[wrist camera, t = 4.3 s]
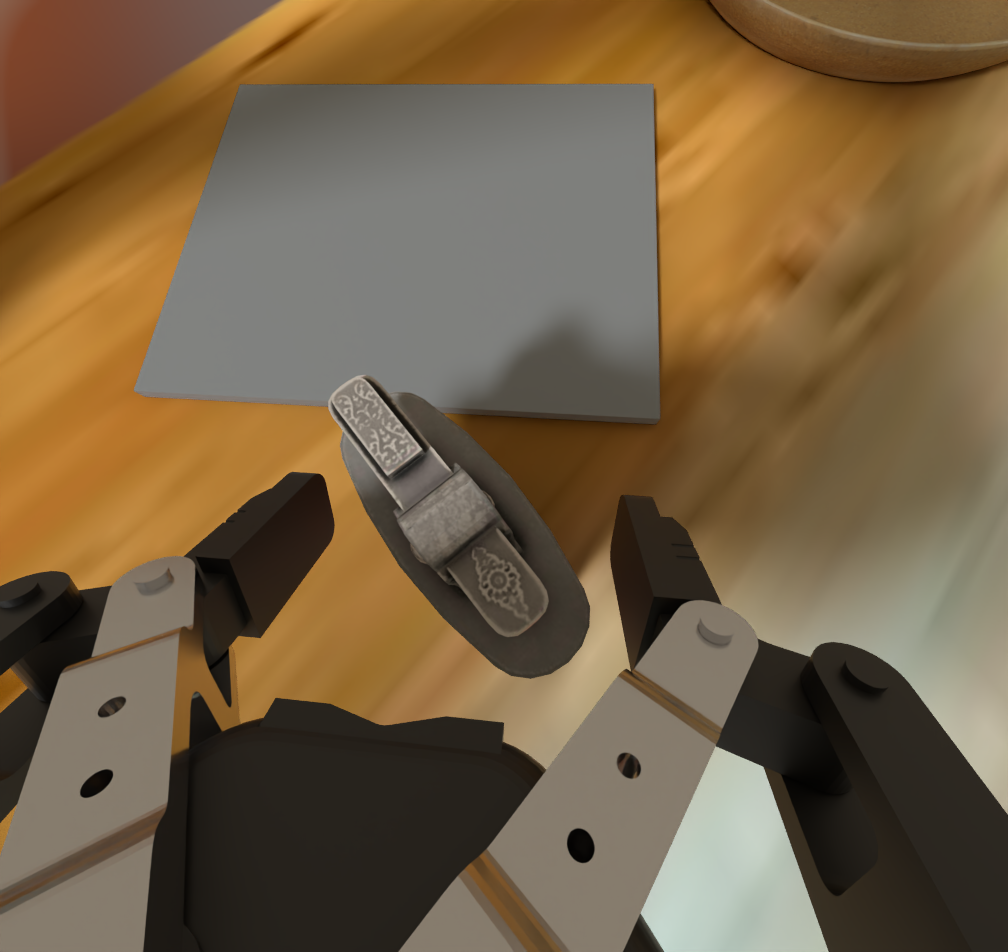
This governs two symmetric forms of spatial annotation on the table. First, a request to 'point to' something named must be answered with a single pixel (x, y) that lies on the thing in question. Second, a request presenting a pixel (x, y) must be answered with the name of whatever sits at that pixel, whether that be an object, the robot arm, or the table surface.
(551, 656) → the lighter
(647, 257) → the mat
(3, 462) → the table surface
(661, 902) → the table surface
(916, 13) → the plant saucer
